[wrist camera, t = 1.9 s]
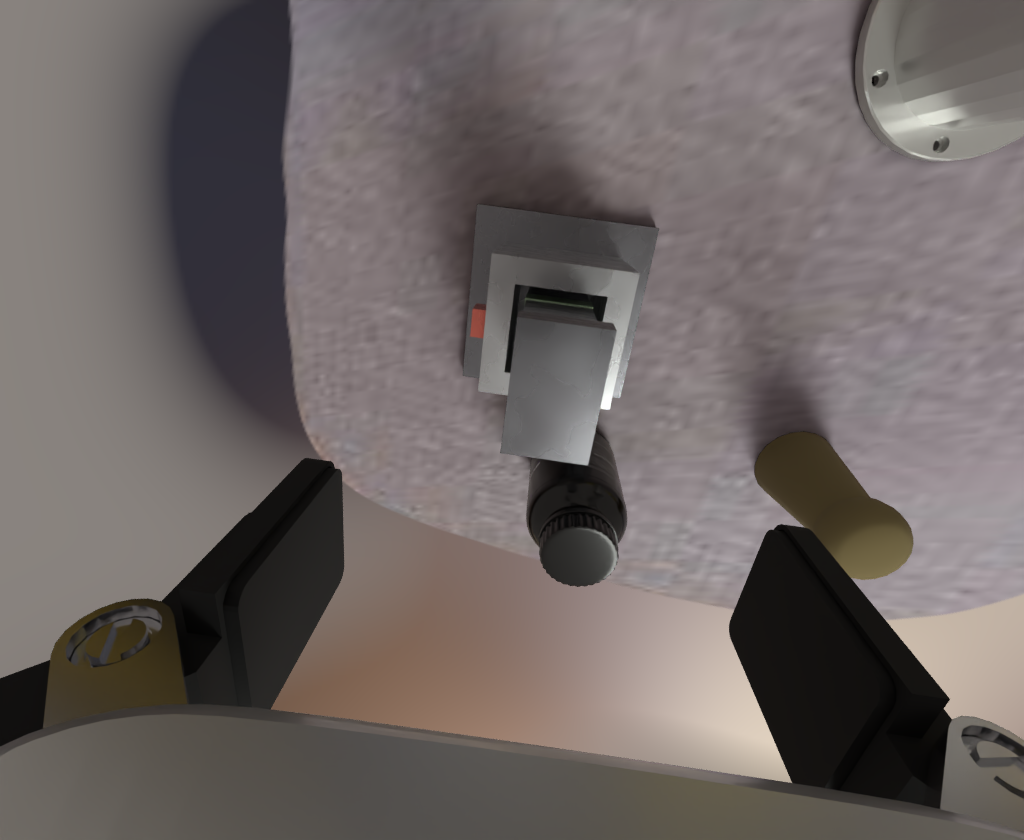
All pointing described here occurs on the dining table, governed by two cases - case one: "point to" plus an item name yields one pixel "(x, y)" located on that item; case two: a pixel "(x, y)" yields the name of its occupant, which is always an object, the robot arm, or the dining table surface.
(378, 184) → the dining table surface
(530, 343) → the column
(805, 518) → the olive knobbed figure
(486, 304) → the stand base
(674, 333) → the dining table surface
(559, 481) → the supplement bottle
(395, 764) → the robot arm
